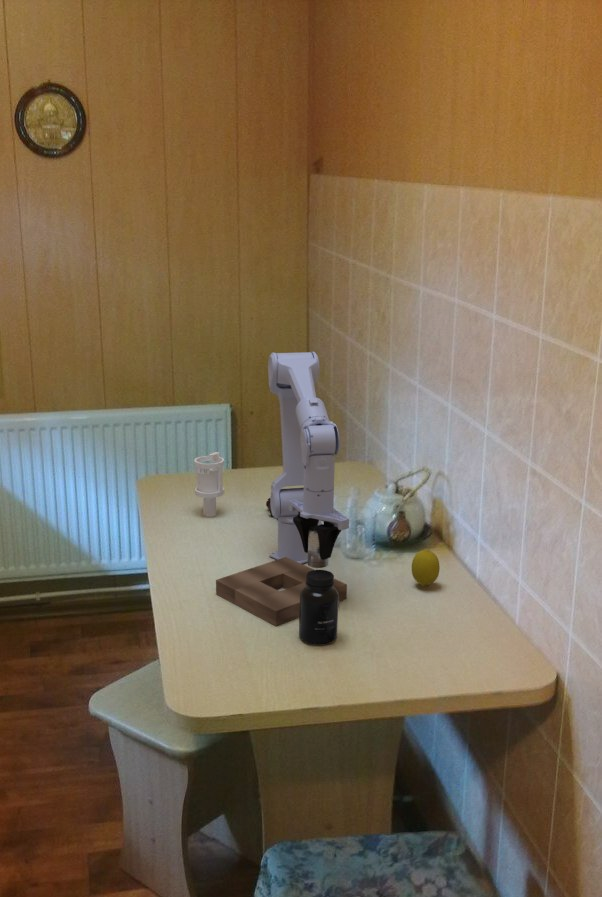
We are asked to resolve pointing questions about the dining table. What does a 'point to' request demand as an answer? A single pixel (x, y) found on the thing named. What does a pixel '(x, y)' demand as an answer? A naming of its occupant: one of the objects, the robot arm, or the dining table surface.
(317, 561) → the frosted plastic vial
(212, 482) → the strainer
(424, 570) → the lemon
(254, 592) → the dock block
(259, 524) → the dining table surface
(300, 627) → the supplement bottle
